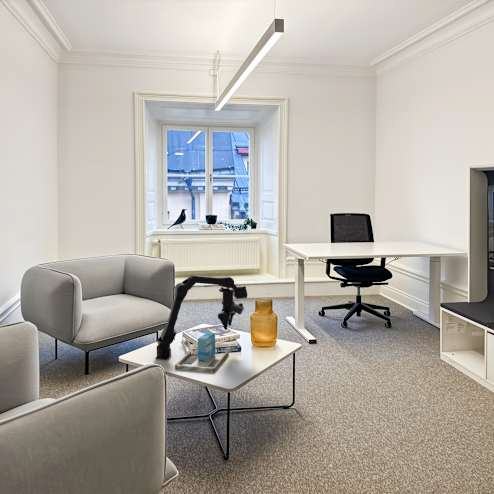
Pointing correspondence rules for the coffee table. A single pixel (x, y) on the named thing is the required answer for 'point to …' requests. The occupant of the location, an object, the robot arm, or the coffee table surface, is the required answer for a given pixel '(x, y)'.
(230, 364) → the coffee table surface
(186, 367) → the grey tray
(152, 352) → the coffee table surface
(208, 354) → the data package
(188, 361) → the trap pads
